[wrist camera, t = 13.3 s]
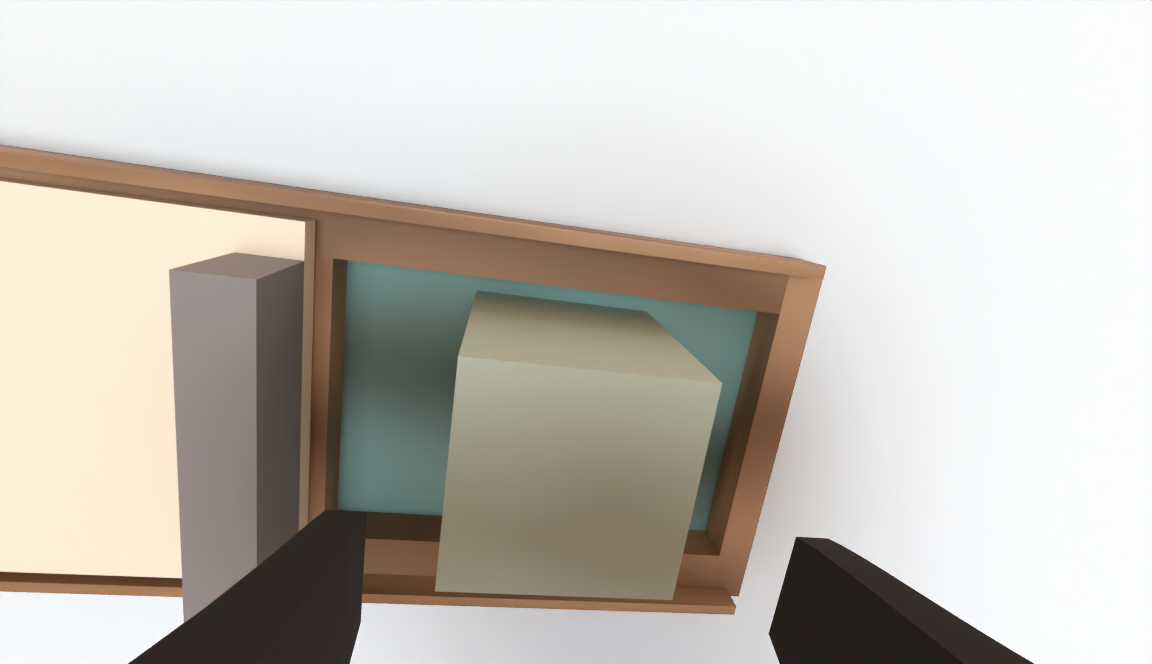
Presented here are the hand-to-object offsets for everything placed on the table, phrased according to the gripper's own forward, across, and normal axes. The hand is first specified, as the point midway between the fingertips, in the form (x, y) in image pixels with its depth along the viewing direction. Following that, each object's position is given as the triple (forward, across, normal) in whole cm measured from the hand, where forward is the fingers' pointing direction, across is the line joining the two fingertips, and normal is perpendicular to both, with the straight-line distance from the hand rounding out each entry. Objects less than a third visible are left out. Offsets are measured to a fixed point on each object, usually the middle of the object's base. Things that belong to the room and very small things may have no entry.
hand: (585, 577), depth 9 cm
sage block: (+8, 0, 0) cm, 8 cm away
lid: (+7, +13, 0) cm, 14 cm away
